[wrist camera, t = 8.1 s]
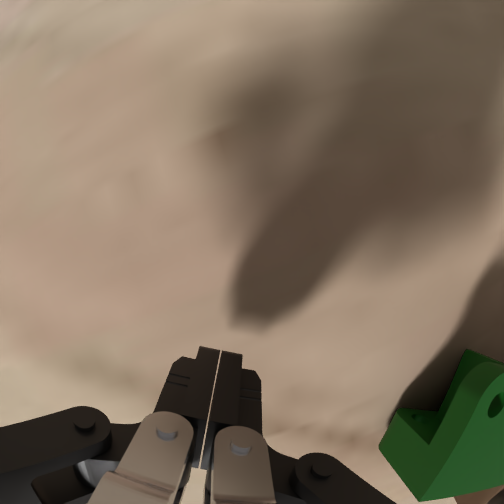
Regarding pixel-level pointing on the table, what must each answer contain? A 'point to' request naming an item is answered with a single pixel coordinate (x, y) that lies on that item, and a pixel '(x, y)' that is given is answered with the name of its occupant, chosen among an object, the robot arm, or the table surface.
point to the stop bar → (483, 496)
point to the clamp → (453, 435)
